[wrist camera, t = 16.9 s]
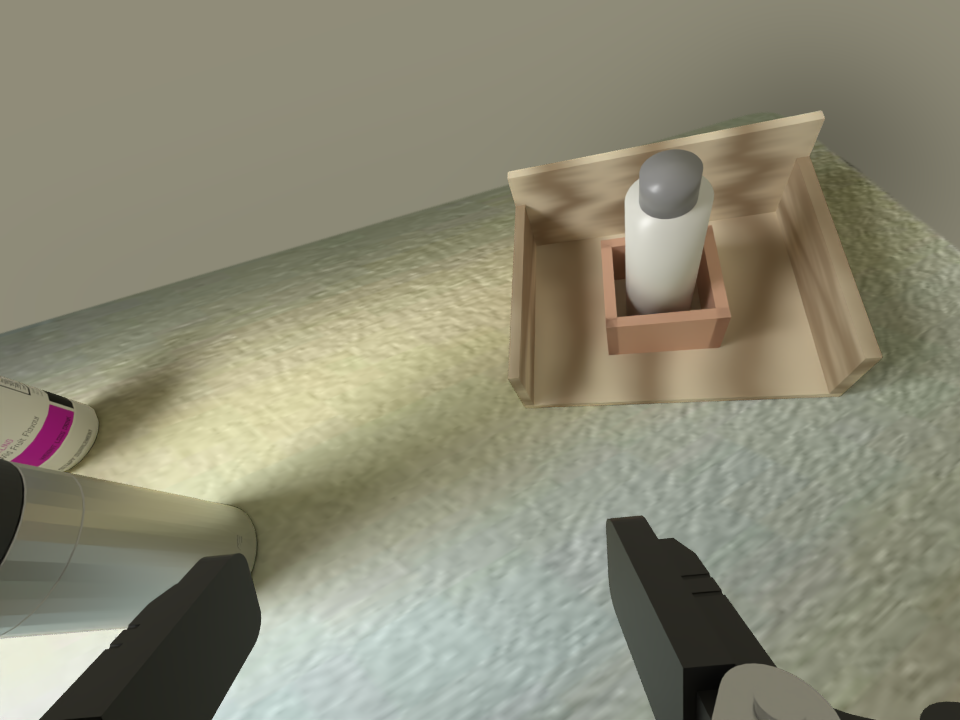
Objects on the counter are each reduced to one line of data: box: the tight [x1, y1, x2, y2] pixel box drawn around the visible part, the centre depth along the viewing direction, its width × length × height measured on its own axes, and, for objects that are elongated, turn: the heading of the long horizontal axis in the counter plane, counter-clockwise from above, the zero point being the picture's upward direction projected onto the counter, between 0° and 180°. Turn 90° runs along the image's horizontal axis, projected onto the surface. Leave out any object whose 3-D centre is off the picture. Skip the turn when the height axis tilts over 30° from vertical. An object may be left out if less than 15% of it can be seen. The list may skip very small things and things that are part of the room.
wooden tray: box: [508, 111, 883, 408], centre depth 33 cm, size 22×17×9 cm
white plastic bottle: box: [625, 149, 714, 316], centre depth 30 cm, size 5×5×14 cm
